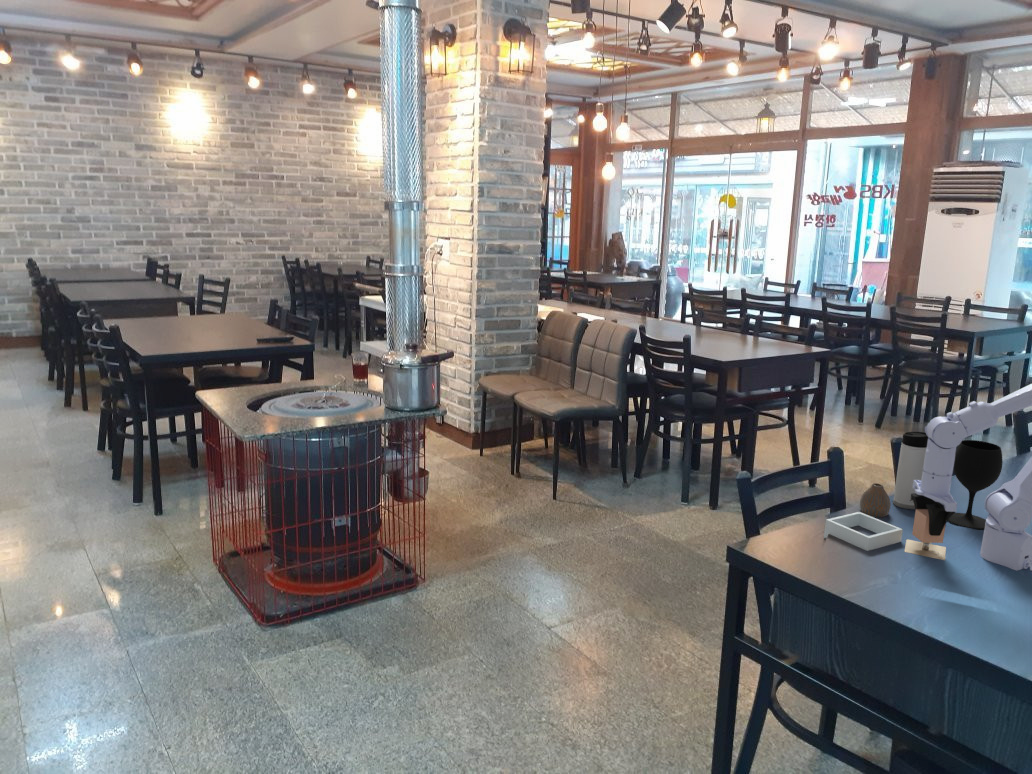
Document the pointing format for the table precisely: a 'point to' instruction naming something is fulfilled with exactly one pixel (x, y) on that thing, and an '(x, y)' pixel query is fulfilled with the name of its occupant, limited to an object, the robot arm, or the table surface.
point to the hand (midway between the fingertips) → (928, 530)
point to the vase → (875, 501)
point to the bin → (842, 530)
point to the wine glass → (975, 476)
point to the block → (925, 528)
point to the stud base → (925, 549)
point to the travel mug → (909, 467)
